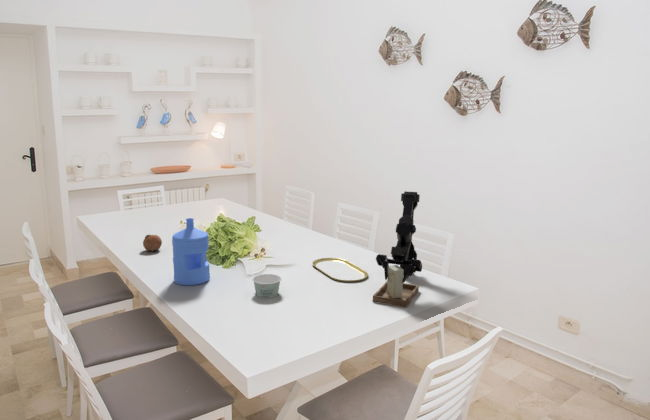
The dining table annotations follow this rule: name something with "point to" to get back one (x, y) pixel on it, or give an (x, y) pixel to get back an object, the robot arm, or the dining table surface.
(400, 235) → the robot arm
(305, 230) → the dining table surface
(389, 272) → the skincare box
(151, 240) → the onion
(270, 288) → the food container
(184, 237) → the water jug
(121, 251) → the dining table surface
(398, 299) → the walnut tray
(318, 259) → the gold hoop ring
